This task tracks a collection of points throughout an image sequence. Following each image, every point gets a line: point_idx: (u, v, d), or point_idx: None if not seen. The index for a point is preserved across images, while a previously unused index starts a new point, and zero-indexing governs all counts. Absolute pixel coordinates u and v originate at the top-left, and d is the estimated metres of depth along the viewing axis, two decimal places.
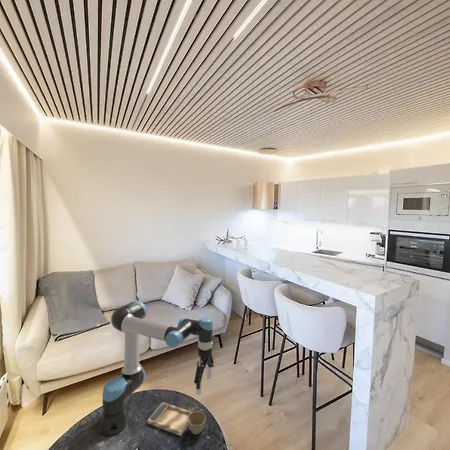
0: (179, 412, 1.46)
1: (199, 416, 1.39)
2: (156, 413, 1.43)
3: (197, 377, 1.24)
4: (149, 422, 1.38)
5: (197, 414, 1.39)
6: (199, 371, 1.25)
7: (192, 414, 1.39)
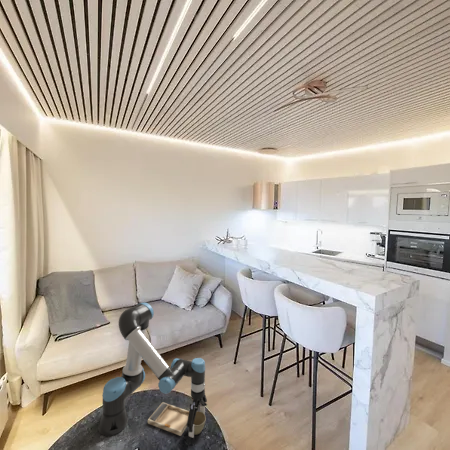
0: (179, 412, 1.46)
1: (199, 416, 1.39)
2: (156, 413, 1.43)
3: (189, 420, 1.26)
4: (149, 422, 1.38)
5: (197, 414, 1.39)
6: (191, 414, 1.27)
7: None
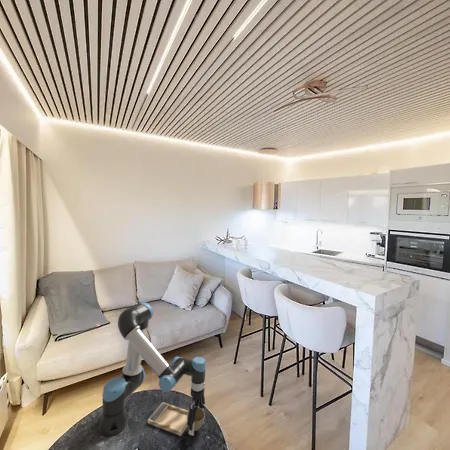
0: (179, 412, 1.46)
1: (198, 413, 1.39)
2: (156, 413, 1.43)
3: (190, 419, 1.27)
4: (149, 422, 1.38)
5: (196, 411, 1.40)
6: (191, 413, 1.28)
7: None
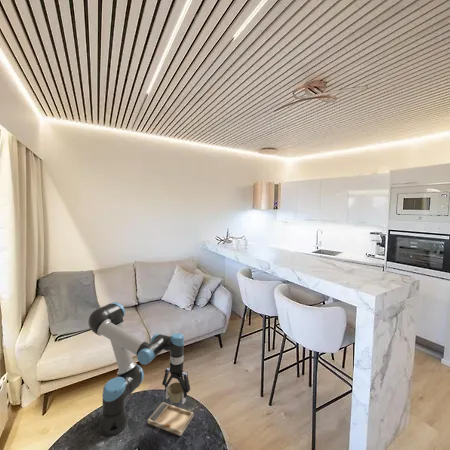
0: (179, 412, 1.46)
1: None
2: (156, 413, 1.43)
3: None
4: (149, 422, 1.38)
5: None
6: None
7: None
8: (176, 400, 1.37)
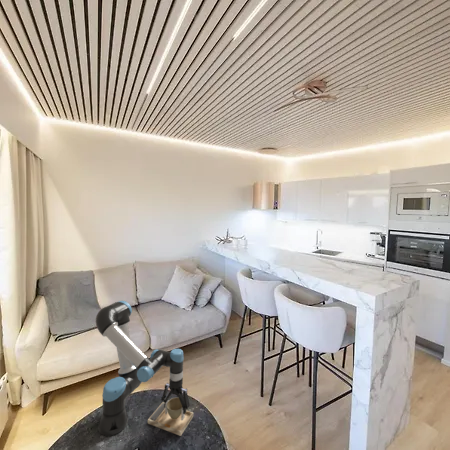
0: None
1: None
2: (156, 413, 1.43)
3: None
4: (149, 422, 1.38)
5: None
6: None
7: None
8: (175, 416, 1.37)
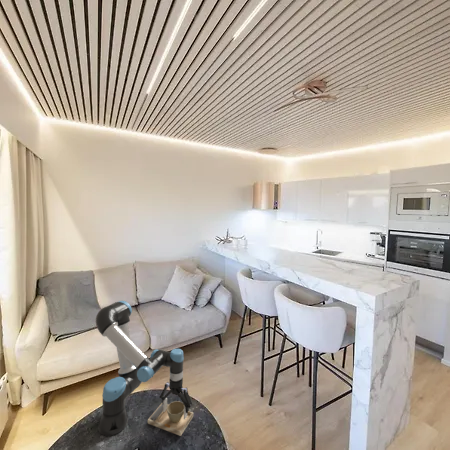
0: None
1: (182, 413, 1.40)
2: (156, 413, 1.43)
3: None
4: (149, 422, 1.38)
5: (183, 410, 1.41)
6: (163, 389, 1.43)
7: (183, 405, 1.44)
8: (176, 420, 1.37)
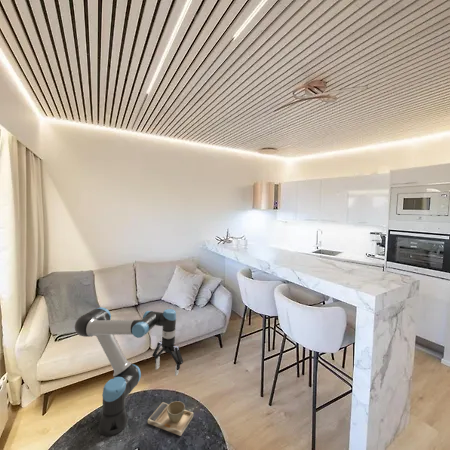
0: None
1: (182, 413, 1.40)
2: (156, 413, 1.43)
3: None
4: (149, 422, 1.38)
5: (183, 410, 1.41)
6: None
7: (183, 405, 1.44)
8: (176, 420, 1.37)
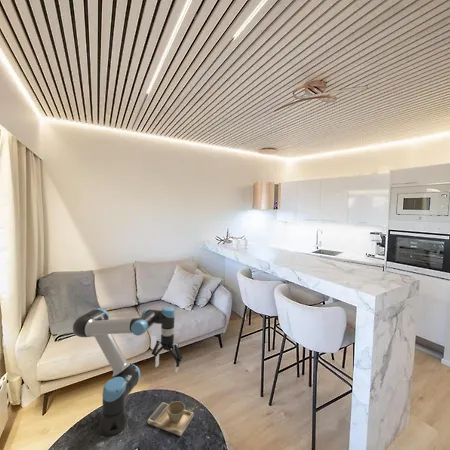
0: None
1: (182, 413, 1.40)
2: (156, 413, 1.43)
3: None
4: (149, 422, 1.38)
5: (183, 410, 1.41)
6: None
7: (183, 405, 1.44)
8: (176, 420, 1.37)
